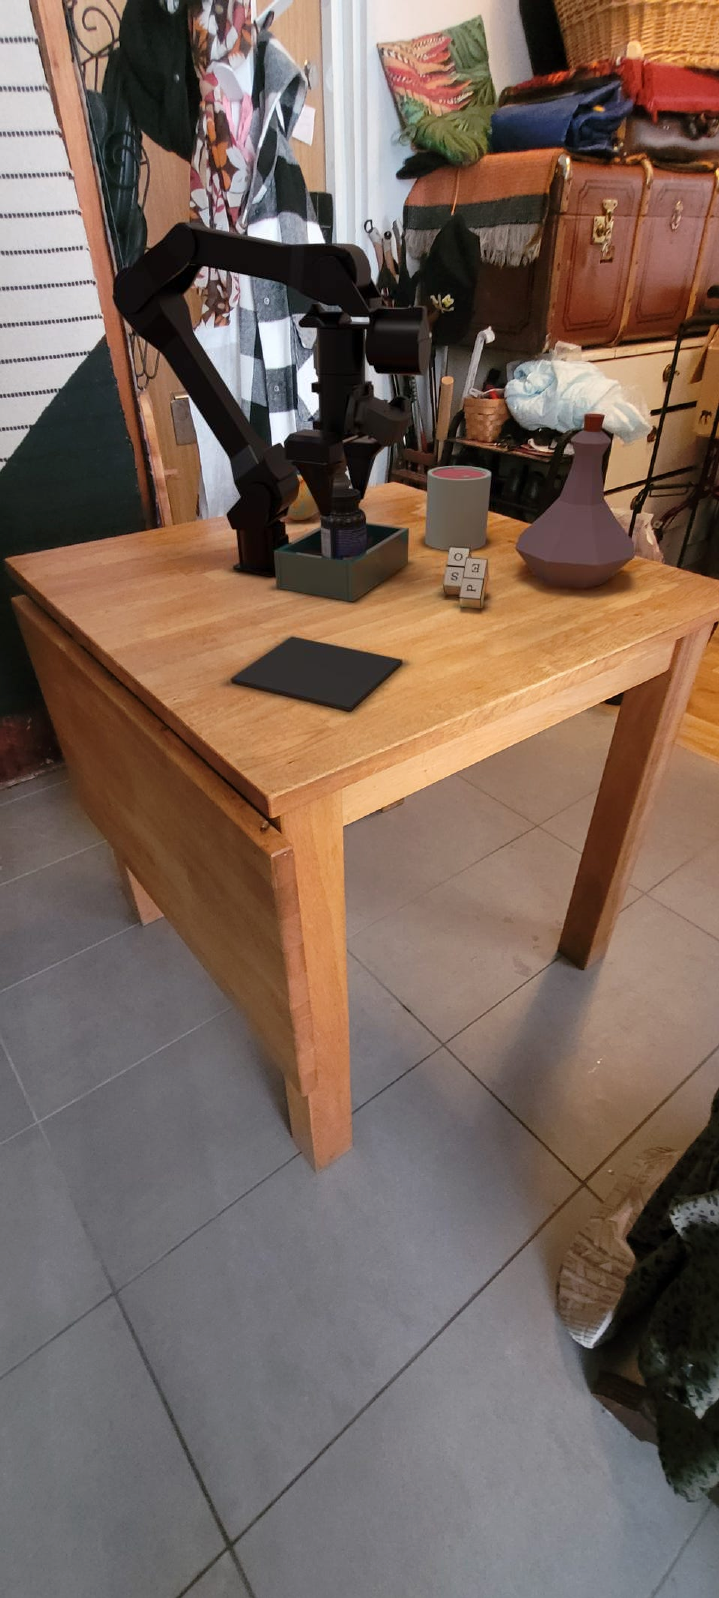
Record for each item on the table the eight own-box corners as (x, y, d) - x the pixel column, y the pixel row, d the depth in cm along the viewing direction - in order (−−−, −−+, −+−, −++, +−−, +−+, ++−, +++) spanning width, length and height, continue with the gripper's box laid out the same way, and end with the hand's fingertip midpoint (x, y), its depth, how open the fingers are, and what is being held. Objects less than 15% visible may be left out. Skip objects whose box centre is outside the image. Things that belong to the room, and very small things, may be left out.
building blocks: (482, 617, 98) (492, 559, 99) (481, 599, 93) (491, 538, 94) (441, 613, 99) (451, 556, 100) (437, 595, 94) (448, 535, 95)
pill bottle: (372, 570, 107) (372, 488, 101) (358, 585, 103) (357, 499, 96) (331, 566, 109) (329, 484, 103) (315, 580, 104) (312, 495, 98)
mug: (488, 550, 114) (495, 479, 108) (426, 551, 114) (429, 480, 109) (478, 524, 125) (483, 459, 120) (421, 524, 125) (424, 459, 120)
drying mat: (231, 682, 79) (230, 678, 79) (291, 640, 88) (291, 636, 88) (350, 711, 74) (350, 707, 74) (402, 663, 83) (402, 659, 82)
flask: (487, 581, 103) (501, 418, 92) (542, 550, 114) (561, 400, 102) (603, 608, 95) (635, 432, 84) (651, 572, 106) (685, 411, 94)
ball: (270, 518, 129) (267, 474, 125) (304, 511, 133) (302, 468, 129) (293, 528, 125) (291, 482, 121) (328, 520, 128) (327, 475, 124)
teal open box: (276, 588, 102) (273, 550, 99) (337, 552, 114) (336, 517, 111) (353, 602, 98) (352, 563, 95) (408, 563, 110) (409, 527, 107)
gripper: (365, 386, 82) (365, 534, 91) (434, 367, 95) (428, 498, 104) (277, 380, 86) (285, 522, 95) (355, 362, 99) (355, 489, 109)
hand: (343, 507), depth 101 cm, fingers open, 9 cm apart
